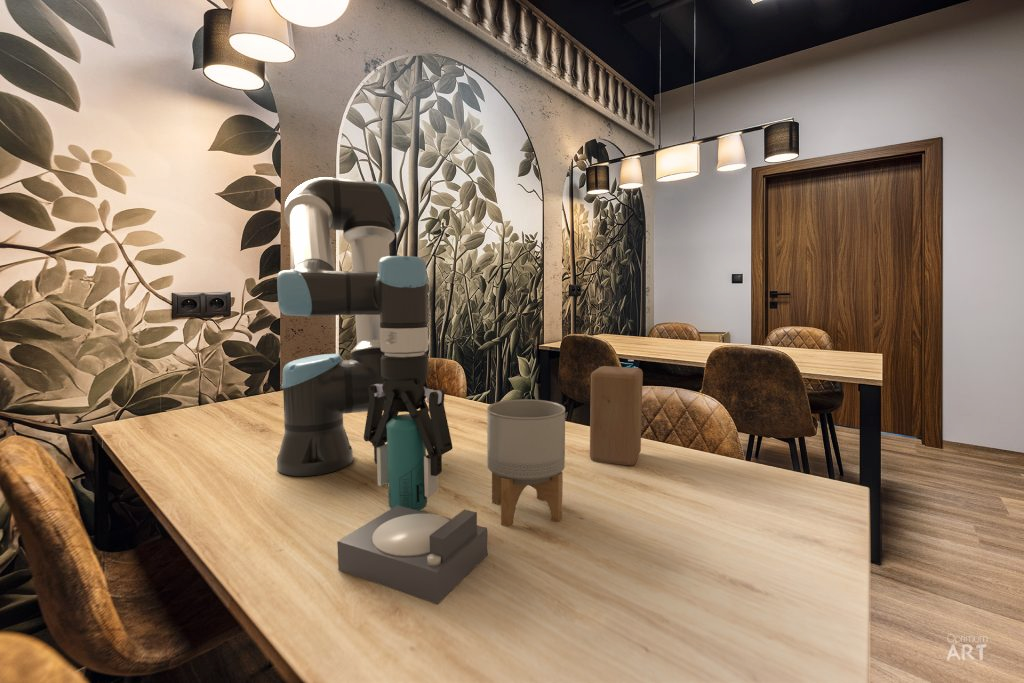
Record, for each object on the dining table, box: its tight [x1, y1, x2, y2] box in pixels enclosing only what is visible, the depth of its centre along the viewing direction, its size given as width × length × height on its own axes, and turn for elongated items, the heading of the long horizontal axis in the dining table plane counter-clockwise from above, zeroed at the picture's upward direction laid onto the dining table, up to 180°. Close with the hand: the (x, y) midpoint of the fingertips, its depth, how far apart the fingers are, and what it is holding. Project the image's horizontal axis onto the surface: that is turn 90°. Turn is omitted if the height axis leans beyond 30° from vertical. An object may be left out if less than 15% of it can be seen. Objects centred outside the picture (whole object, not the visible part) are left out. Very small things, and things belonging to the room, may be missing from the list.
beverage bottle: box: [386, 398, 428, 511], centre depth 78 cm, size 6×7×20 cm
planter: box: [486, 398, 566, 528], centre depth 80 cm, size 13×13×18 cm
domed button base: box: [336, 505, 489, 605], centre depth 65 cm, size 16×12×7 cm
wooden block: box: [589, 365, 644, 466], centre depth 106 cm, size 10×10×20 cm
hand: (407, 488), depth 79 cm, fingers open, 9 cm apart
